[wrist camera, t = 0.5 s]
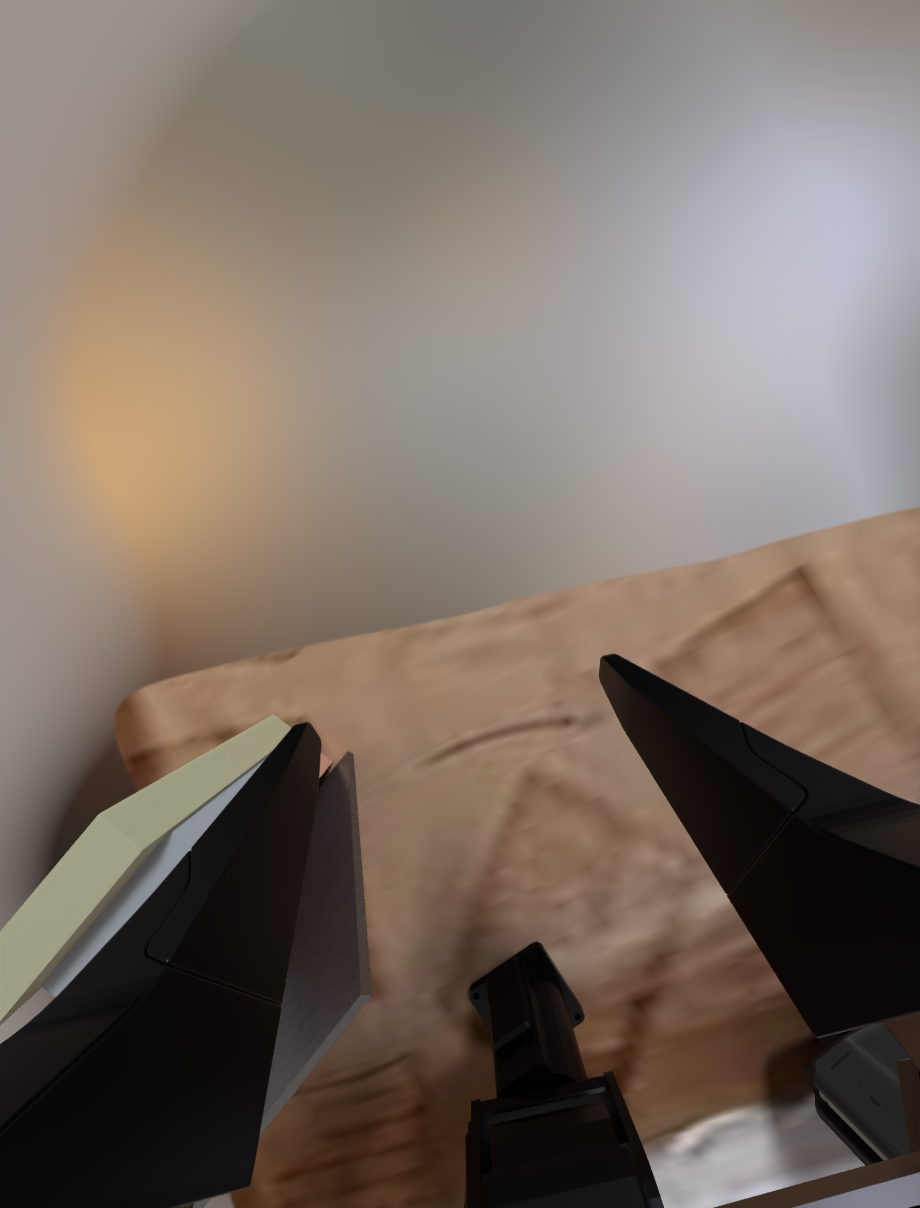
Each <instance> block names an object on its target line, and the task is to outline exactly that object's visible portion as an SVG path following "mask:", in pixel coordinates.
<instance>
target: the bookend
mask: <svg viewBox="0 0 920 1208" xmlns="http://www.w3.org/2000/svg"><path fill="white" fill-rule="evenodd" d="M371 996H372V993H371V980H370V967H369V954H368V941H367V928H366V915H365V901H364V888H363V875H362V862H361V849H360V836H359V823H358V809H357V796H356V783H355V770H354V757H353V754H352V753H350V752H347V753H346V754H345V755H344V757H343V758H342V759H341V760H340V761H339V763H338V764H337V765H336V766H335V768H334V769H333V770H332V771H331V772H330V774H329V775H328V776H327V777H326V779H325V780H324V781H323V782H322V784H321V785H320V786H319V790H318V799H317V806H316V812H315V817H314V823H313V829H312V835H311V840H310V846H309V852H308V858H307V863H306V869H305V875H304V881H303V886H302V892H301V898H300V904H299V909H298V915H297V921H296V927H295V933H294V938H293V944H292V950H291V956H290V961H289V967H288V973H287V979H286V984H285V990H284V996H283V1002H282V1004H281V1006H282V1009H281V1014H280V1020H279V1026H278V1032H277V1037H276V1043H275V1049H274V1055H273V1060H272V1066H271V1072H270V1078H269V1084H268V1089H267V1095H266V1101H265V1107H264V1112H263V1118H262V1124H261V1130H260V1135H259V1137H260V1136H261V1134H262V1133H263V1132H264V1131H265V1129H266V1128H267V1127H268V1126H269V1124H270V1123H271V1122H272V1121H273V1119H274V1118H275V1117H276V1115H277V1114H278V1113H279V1112H280V1110H281V1109H282V1108H283V1107H284V1105H285V1104H286V1103H287V1102H288V1100H289V1099H290V1098H291V1097H292V1095H293V1094H294V1093H295V1092H296V1090H297V1089H298V1088H299V1087H300V1085H301V1084H302V1083H303V1081H304V1080H305V1079H306V1078H307V1076H308V1075H309V1074H310V1073H311V1071H312V1070H313V1069H314V1068H315V1066H316V1065H317V1064H318V1063H319V1061H320V1060H321V1059H322V1058H323V1056H324V1055H325V1054H326V1053H327V1051H328V1050H329V1049H330V1048H331V1046H332V1045H333V1044H334V1042H335V1041H336V1040H337V1039H338V1037H339V1036H340V1035H341V1034H342V1032H343V1031H344V1030H345V1029H346V1027H347V1026H348V1025H349V1024H350V1022H351V1021H352V1020H353V1019H354V1017H355V1016H356V1015H357V1014H358V1012H359V1011H360V1010H361V1008H362V1007H363V1006H364V1005H365V1003H366V1002H367V1001H368V1000H369V998H370V997H371ZM209 1200H210V1199H206V1200H202V1201H199V1202H195V1203H194V1204H193V1208H203V1207H204V1206H205V1205H206V1204H207V1202H208V1201H209Z"/></svg>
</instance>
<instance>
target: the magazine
mask: <svg viewBox="0 0 920 1208" xmlns="http://www.w3.org/2000/svg"><path fill="white" fill-rule="evenodd" d="M819 1041H820V1042H821V1043H822V1044H824V1045H825V1046H826V1048H824V1049H823V1050H822V1051H821V1052H820V1053H818V1054H817V1055H816V1056H815V1057H814V1058H812V1059H811V1060H810V1061H809V1062H808V1063H807V1064H805V1072H806V1079H807V1081H808V1083H809V1085H810V1087H811V1089H812V1090H813V1092H814V1094H815V1106H816V1110H817V1113H818V1115H819V1116H820V1118H821V1119H822V1120H823V1121H824V1122H825V1123H826V1124H827V1125H828V1126H829V1127H830V1128H831V1129H832V1130H833V1132H834V1133H835V1134H836V1135H837V1136H838V1137H839V1138H840V1139H841V1140H842V1141H843V1142H844V1143H845V1144H846V1145H847V1146H848V1147H849V1148H850V1150H851V1151H852V1152H853V1153H854V1154H855V1155H856V1156H857V1157H858V1158H859V1159H860V1160H861V1161H862V1162H863V1163H864V1164H865V1165H866V1166H867V1165H870V1164H874V1163H877V1162H881V1161H885V1160H888V1159H892V1158H896V1157H899V1156H903V1155H906V1154H910V1153H911V1151H910V1145H909V1139H908V1132H907V1126H906V1120H905V1113H904V1107H903V1101H902V1095H901V1088H900V1082H899V1076H898V1069H897V1063H896V1061H900V1060H904V1059H907V1058H909V1056H908V1055H907V1054H906V1052H905V1051H904V1050H903V1048H902V1047H901V1046H900V1044H899V1043H898V1042H897V1040H896V1039H895V1038H894V1037H893V1035H892V1034H891V1033H890V1031H889V1030H888V1029H887V1027H886V1026H885V1025H884V1023H883V1022H881V1023H877V1024H873V1025H869V1026H865V1027H861V1028H857V1029H855V1030H853V1031H851V1032H849V1033H847V1034H845V1035H842V1036H840V1037H838V1036H836V1035H835V1034H833V1035H829V1036H825V1037H821V1038H819Z"/></svg>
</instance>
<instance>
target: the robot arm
mask: <svg viewBox="0 0 920 1208" xmlns="http://www.w3.org/2000/svg"><path fill="white" fill-rule="evenodd" d="M599 679H600V682H601V684H602V686H603V689H604V691H605V693H606V695H607V697H608V699H609V701H610V703H611V705H612V707H613V709H614V711H615V713H616V716H617V718H618V720H619V722H620V724H621V726H622V727H623V729H624V731H625V732H626V734H627V736H628V737H629V739H630V741H631V742H632V744H633V745H634V747H635V749H636V750H637V752H638V753H639V755H640V757H641V758H642V760H643V762H644V763H645V765H646V766H647V768H648V770H649V771H650V773H651V774H652V776H653V778H654V779H655V781H656V782H657V784H658V786H659V787H660V789H661V790H662V792H663V794H664V795H665V797H666V798H667V800H668V802H669V803H670V805H671V806H672V808H673V810H674V811H675V813H676V815H677V816H678V818H679V819H680V821H681V823H682V824H683V826H684V827H685V829H686V831H687V832H688V834H689V835H690V837H691V839H692V840H693V842H694V843H695V845H696V847H697V848H698V850H699V851H700V853H701V855H702V856H703V858H704V860H705V861H706V863H707V864H708V866H709V868H710V869H711V871H712V872H713V874H714V876H715V877H716V879H717V880H718V882H719V884H720V885H721V887H722V888H723V890H724V892H725V893H726V894H727V897H728V898H729V900H730V902H731V903H732V905H733V906H734V908H735V910H736V911H737V913H738V914H739V916H740V918H741V919H742V921H743V923H744V924H745V926H746V927H747V929H748V931H749V932H750V934H751V935H752V937H753V939H754V940H755V942H756V943H757V945H758V947H759V948H760V950H761V951H762V953H763V955H764V956H765V958H766V959H767V961H768V963H769V964H770V966H771V968H772V969H773V971H774V972H775V974H776V976H777V977H778V979H779V980H780V982H781V984H782V985H783V987H784V988H785V990H786V992H787V993H788V995H789V996H790V998H791V1000H792V1001H793V1003H794V1004H795V1006H796V1008H797V1009H798V1011H799V1013H800V1014H801V1016H802V1017H803V1019H804V1021H805V1022H806V1024H807V1025H808V1027H809V1028H810V1030H811V1031H812V1033H813V1034H814V1036H815V1037H816V1038H821V1037H825V1036H829V1035H833V1034H837V1033H841V1032H845V1031H849V1030H853V1029H857V1028H861V1027H865V1026H869V1025H873V1024H877V1023H881V1022H883V1023H884V1025H885V1026H886V1027H887V1029H888V1030H889V1031H890V1033H891V1034H892V1035H893V1037H894V1038H895V1039H896V1040H897V1042H898V1043H899V1044H900V1046H901V1047H902V1048H903V1050H904V1051H905V1052H906V1054H907V1055H908V1056H909V1058H907V1059H904V1060H900V1061H896V1063H897V1069H898V1076H899V1082H900V1088H901V1095H902V1101H903V1107H904V1113H905V1120H906V1126H907V1132H908V1139H909V1145H910V1151H911V1153H910V1154H906V1155H903V1156H899V1157H896V1158H892V1159H888V1160H885V1161H881V1162H877V1163H874V1164H870V1165H867V1166H863V1167H859V1168H856V1169H852V1170H848V1171H845V1172H841V1173H838V1174H834V1175H830V1176H827V1177H823V1178H819V1179H816V1180H812V1181H809V1182H805V1183H801V1184H798V1185H794V1186H790V1187H787V1188H783V1189H780V1190H776V1191H772V1192H769V1193H765V1194H761V1195H758V1196H754V1197H751V1198H747V1199H743V1200H740V1201H736V1202H732V1203H729V1204H725V1205H722V1206H718V1207H714V1208H920V805H919V804H916V803H913V802H910V801H907V800H905V799H902V798H899V797H897V796H894V795H892V794H890V793H887V792H885V791H883V790H881V789H879V788H876V787H874V786H872V785H870V784H868V783H866V782H863V781H861V780H859V779H857V778H855V777H853V776H851V775H848V774H846V773H844V772H842V771H840V770H838V769H836V768H833V767H831V766H829V765H827V764H825V763H823V762H820V761H818V760H816V759H814V758H812V757H810V756H808V755H806V754H804V753H801V752H799V751H797V750H795V749H793V748H791V747H789V746H787V745H785V744H783V743H781V742H779V741H777V740H775V739H773V738H771V737H769V736H767V735H766V734H764V733H762V732H760V731H758V730H756V729H754V728H752V727H750V726H749V725H747V724H745V723H743V722H741V723H740V721H739V720H737V719H735V718H734V717H732V716H730V715H728V714H726V713H724V712H722V711H721V710H719V709H717V708H715V707H713V706H711V705H710V704H708V703H706V702H704V701H702V700H700V699H698V698H697V697H695V696H693V695H691V694H689V693H687V692H685V691H684V690H682V689H680V688H678V687H676V686H674V685H673V684H671V683H669V682H667V681H665V680H663V679H661V678H660V677H658V676H656V675H654V674H652V673H650V672H648V671H647V670H645V669H643V668H641V667H639V666H637V665H636V664H634V663H632V662H630V661H628V660H626V659H624V658H623V657H621V656H619V655H617V654H609V655H605V656H602V657H601V659H600V668H599ZM320 760H321V740H320V737H319V736H318V734H317V732H316V731H315V729H314V728H313V726H312V725H311V724H310V723H309V722H305V723H300V724H296V725H294V726H293V727H292V728H291V729H290V730H289V732H288V733H287V734H286V735H285V736H284V738H283V739H282V740H281V741H280V742H279V744H278V745H277V746H276V747H275V748H274V750H273V751H272V752H271V753H270V754H269V755H268V757H267V758H266V759H265V760H264V761H263V763H262V764H261V765H260V766H259V767H258V769H257V770H256V771H255V772H254V773H253V775H252V776H251V777H250V778H249V779H248V781H247V782H246V783H245V784H244V785H243V787H242V788H241V789H240V790H239V791H238V792H237V794H236V795H235V796H234V797H233V798H232V800H231V801H230V802H229V803H228V804H227V806H226V807H225V808H224V809H223V810H222V812H221V813H220V814H219V815H218V816H217V818H216V819H215V820H214V821H213V822H212V823H211V825H210V826H209V827H208V828H207V829H206V831H205V832H204V833H203V834H202V835H201V837H200V838H199V839H198V840H197V841H196V843H195V844H194V845H193V846H192V848H191V850H190V851H188V852H187V853H186V854H185V856H184V857H183V858H182V859H181V860H180V862H179V863H178V864H177V865H176V866H175V867H174V869H173V870H172V871H171V872H170V873H169V874H168V876H167V877H166V878H165V879H164V880H163V881H162V883H161V884H160V885H159V886H158V887H157V888H156V889H155V891H154V892H153V893H152V894H151V895H150V896H149V897H148V898H147V900H146V901H145V902H144V903H143V904H142V905H141V906H140V907H139V908H138V909H137V911H136V912H135V913H134V914H133V915H132V916H131V917H130V918H129V919H128V920H127V922H126V923H125V924H124V925H123V926H122V927H121V928H120V929H119V930H118V931H117V932H116V933H115V934H114V935H113V937H112V938H111V939H110V940H109V941H108V942H107V943H106V944H105V945H104V946H103V947H102V948H101V949H100V951H99V952H98V953H97V954H96V955H95V956H94V957H93V958H92V959H91V960H90V961H89V962H88V963H87V965H86V966H85V967H84V968H83V969H82V970H81V971H80V972H79V973H78V974H77V975H76V976H75V977H74V978H73V980H72V981H71V982H70V983H69V984H68V985H67V986H66V987H65V988H64V989H63V990H62V991H61V992H60V993H59V994H58V995H57V996H56V997H55V998H54V999H53V1001H52V1002H50V1004H48V1005H47V1006H46V1007H45V1008H44V1009H43V1010H42V1011H41V1012H40V1013H39V1014H38V1015H37V1016H35V1017H34V1018H33V1019H32V1020H31V1021H30V1022H28V1023H27V1024H26V1025H25V1026H24V1027H22V1028H21V1029H20V1030H19V1031H18V1032H16V1033H15V1034H13V1035H12V1036H11V1037H9V1038H8V1039H7V1040H5V1041H4V1042H2V1043H1V1044H0V1208H193V1204H194V1203H195V1202H199V1201H202V1200H206V1199H210V1198H213V1197H217V1196H221V1195H224V1194H228V1193H232V1192H235V1191H239V1190H243V1189H246V1188H249V1186H250V1183H251V1179H252V1174H253V1169H254V1164H255V1158H256V1153H257V1147H258V1141H259V1135H260V1130H261V1124H262V1118H263V1112H264V1107H265V1101H266V1095H267V1089H268V1084H269V1078H270V1072H271V1066H272V1060H273V1055H274V1049H275V1043H276V1037H277V1032H278V1026H279V1020H280V1014H281V1009H282V1006H281V1004H282V1002H283V996H284V990H285V984H286V979H287V973H288V967H289V961H290V956H291V950H292V944H293V938H294V933H295V927H296V921H297V915H298V909H299V904H300V898H301V892H302V886H303V881H304V875H305V869H306V863H307V858H308V852H309V846H310V840H311V835H312V829H313V823H314V817H315V812H316V806H317V799H318V790H319V775H320ZM536 951H539V952H536ZM470 1000H471V1001H472V1003H473V1004H474V1006H475V1008H476V1009H477V1011H478V1012H479V1014H480V1016H481V1017H482V1019H483V1020H484V1022H485V1023H486V1025H487V1027H488V1028H489V1030H490V1031H491V1040H492V1048H493V1059H494V1070H495V1081H496V1093H497V1098H495V1099H491V1100H486V1101H480V1099H478V1100H473V1101H471V1121H470V1122H469V1125H468V1133H467V1135H466V1136H465V1140H466V1193H465V1203H464V1208H664V1206H663V1203H662V1200H661V1196H660V1193H659V1190H658V1187H657V1184H656V1181H655V1178H654V1175H653V1173H652V1170H651V1167H650V1164H649V1161H648V1159H647V1156H646V1153H645V1151H644V1148H643V1146H642V1143H641V1141H640V1138H639V1136H638V1133H637V1131H636V1128H635V1126H634V1123H633V1121H632V1119H631V1116H630V1114H629V1111H628V1109H627V1106H626V1104H625V1101H624V1099H623V1096H622V1094H621V1091H620V1089H619V1086H618V1084H617V1081H616V1079H615V1076H614V1074H613V1071H609V1072H605V1073H604V1075H603V1076H598V1077H594V1078H589V1079H587V1075H586V1072H585V1068H584V1065H583V1061H582V1058H581V1054H580V1051H579V1047H578V1044H577V1040H576V1037H575V1033H574V1030H573V1028H574V1027H576V1026H577V1025H579V1024H580V1023H582V1022H583V1021H584V1012H583V1009H582V1007H581V1005H580V1004H579V1002H578V1000H577V999H576V997H575V996H574V994H573V993H572V991H571V989H570V988H569V986H568V985H567V983H566V982H565V980H564V978H563V977H562V975H561V974H560V972H559V971H558V969H557V967H556V966H555V964H554V963H553V961H552V960H551V958H550V957H549V955H548V953H547V952H546V950H545V949H544V947H543V946H542V944H541V943H539V942H535V943H533V944H531V945H530V946H528V947H527V948H525V949H524V950H522V951H521V952H519V953H518V954H517V955H515V956H514V957H512V958H511V959H509V960H508V961H506V962H505V963H503V964H502V965H500V966H499V967H497V968H496V969H494V970H493V971H492V972H490V973H489V974H487V975H486V976H484V977H483V978H481V979H480V980H478V981H477V982H475V983H474V984H472V985H471V987H470Z"/></svg>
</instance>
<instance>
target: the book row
mask: <svg viewBox="0 0 920 1208" xmlns="http://www.w3.org/2000/svg"><path fill="white" fill-rule="evenodd" d="M290 729H291V727H289V726H288V725H287V724H286V723H285V722H283V721H282V720H281V719H280V718H278V717H277V716H276V715H275V714H273V715H271V716H270V717H268V718H266V719H264V720H263V721H261V722H259V723H257V724H256V725H254V726H252V727H250V728H249V729H247V730H245V731H243V732H242V733H240V734H238V735H236V736H235V737H233V738H231V739H229V740H228V741H226V742H224V743H222V744H221V745H219V746H217V747H215V748H214V749H212V750H210V751H208V752H207V753H205V754H203V755H201V756H200V757H198V758H196V759H194V760H193V761H191V762H189V763H187V764H186V765H184V766H182V767H180V768H179V769H177V770H175V771H173V772H172V773H170V774H168V775H166V776H165V777H163V778H161V779H159V780H158V781H156V782H154V783H152V784H151V785H149V786H147V787H145V788H144V789H142V790H140V791H138V792H137V793H135V794H133V795H132V796H130V797H128V798H126V799H124V800H123V801H121V802H119V803H117V804H116V805H114V806H112V807H110V808H109V809H107V810H106V811H104V812H102V813H100V814H99V815H98V816H97V817H96V818H95V819H94V821H93V822H92V823H91V824H90V825H89V827H88V828H87V829H86V830H85V831H84V833H83V834H82V835H81V836H80V837H79V838H78V840H77V841H76V842H75V843H74V844H73V846H72V847H71V848H70V849H69V850H68V852H67V853H66V854H65V855H64V856H63V858H62V859H61V860H60V861H59V862H58V864H57V865H56V866H55V867H54V868H53V869H52V871H51V872H50V873H49V874H48V875H47V877H46V878H45V879H44V880H43V881H42V883H41V884H40V885H39V886H38V887H37V889H36V890H35V891H34V892H33V893H32V894H31V896H30V897H29V898H28V899H27V900H26V902H25V903H24V904H23V905H22V906H21V908H20V909H19V910H18V911H17V913H16V914H15V915H14V916H13V917H12V918H11V920H10V921H9V922H8V923H7V924H6V925H5V927H4V928H3V929H2V930H1V932H0V1025H1V1024H2V1023H3V1022H4V1021H5V1020H6V1019H7V1018H9V1017H10V1016H11V1015H12V1014H13V1013H14V1012H15V1011H16V1010H17V1009H18V1008H20V1007H21V1006H22V1005H23V1004H24V1003H25V1002H26V1001H27V1000H28V999H29V998H31V997H32V996H33V995H34V994H35V993H36V992H37V991H38V990H39V989H40V988H41V987H43V988H44V989H45V990H47V991H48V992H49V993H50V994H52V995H53V996H54V997H56V996H57V995H58V994H59V993H60V992H61V991H62V990H63V989H64V988H65V987H66V986H67V985H68V984H69V983H70V982H71V981H72V980H73V978H74V977H75V976H76V975H77V974H78V973H79V972H80V971H81V970H82V969H83V968H84V967H85V966H86V965H87V963H88V962H89V961H90V960H91V959H92V958H93V957H94V956H95V955H96V954H97V953H98V952H99V951H100V949H101V948H102V947H103V946H104V945H105V944H106V943H107V942H108V941H109V940H110V939H111V938H112V937H113V935H114V934H115V933H116V932H117V931H118V930H119V929H120V928H121V927H122V926H123V925H124V924H125V923H126V922H127V920H128V919H129V918H130V917H131V916H132V915H133V914H134V913H135V912H136V911H137V909H138V908H139V907H140V906H141V905H142V904H143V903H144V902H145V901H146V900H147V898H148V897H149V896H150V895H151V894H152V893H153V892H154V891H155V889H156V888H157V887H158V886H159V885H160V884H161V883H162V881H163V880H164V879H165V878H166V877H167V876H168V874H169V873H170V872H171V871H172V870H173V869H174V867H175V866H176V865H177V864H178V863H179V862H180V860H181V859H182V858H183V857H184V856H185V854H186V853H187V852H188V851H190V850H191V848H192V846H193V845H194V844H195V843H196V841H197V840H198V839H199V838H200V837H201V835H202V834H203V833H204V832H205V831H206V829H207V828H208V827H209V826H210V825H211V823H212V822H213V821H214V820H215V819H216V818H217V816H218V815H219V814H220V813H221V812H222V810H223V809H224V808H225V807H226V806H227V804H228V803H229V802H230V801H231V800H232V798H233V797H234V796H235V795H236V794H237V792H238V791H239V790H240V789H241V788H242V787H243V785H244V784H245V783H246V782H247V781H248V779H249V778H250V777H251V776H252V775H253V773H254V772H255V771H256V770H257V769H258V767H259V766H260V765H261V764H262V763H263V761H264V760H265V759H266V758H267V757H268V755H269V754H270V753H271V752H272V751H273V750H274V748H275V747H276V746H277V745H278V744H279V742H280V741H281V740H282V739H283V738H284V736H285V735H286V734H287V733H288V732H289V730H290ZM331 763H332V761H331V760H330V759H329V758H327V757H326V756H325V755H324V754H322V753H321V760H320V775H319V778H320V777H321V776H322V774H323V773H324V772H325V771H326V769H327V768H328V767H329V766H330V764H331Z"/></svg>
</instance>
